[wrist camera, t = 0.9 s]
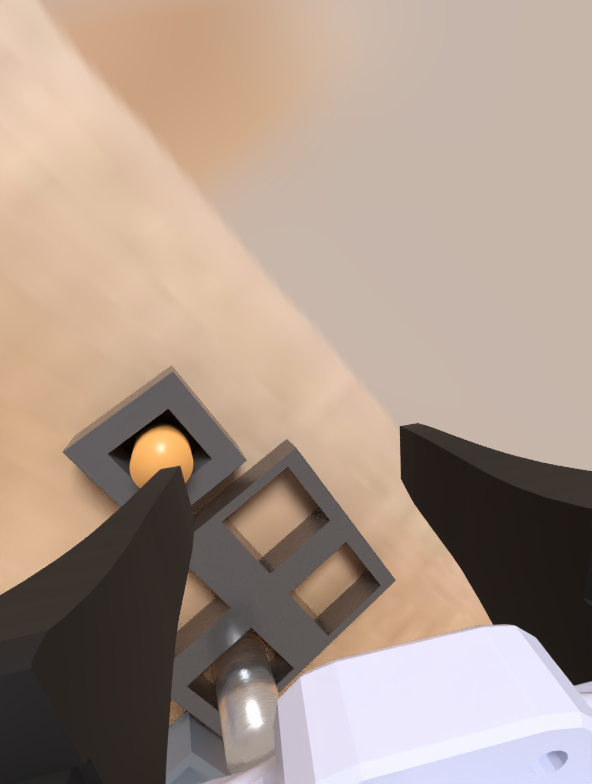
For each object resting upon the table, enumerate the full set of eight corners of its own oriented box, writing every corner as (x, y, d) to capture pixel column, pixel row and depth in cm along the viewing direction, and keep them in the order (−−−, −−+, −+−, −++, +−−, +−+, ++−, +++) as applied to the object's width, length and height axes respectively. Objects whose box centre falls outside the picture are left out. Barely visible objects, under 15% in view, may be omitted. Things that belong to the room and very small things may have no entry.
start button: (157, 483, 23) (157, 505, 20) (121, 446, 22) (115, 464, 19) (200, 450, 23) (205, 467, 21) (166, 412, 22) (167, 425, 20)
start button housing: (153, 513, 25) (152, 537, 22) (74, 435, 22) (62, 452, 19) (237, 445, 26) (246, 460, 23) (171, 365, 23) (172, 371, 21)
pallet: (223, 714, 29) (228, 741, 27) (84, 605, 24) (77, 628, 22) (382, 565, 32) (395, 580, 30) (286, 439, 27) (296, 447, 25)
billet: (232, 686, 29) (253, 790, 23) (200, 659, 28) (212, 761, 21) (272, 648, 30) (303, 739, 23) (243, 620, 28) (267, 709, 22)
